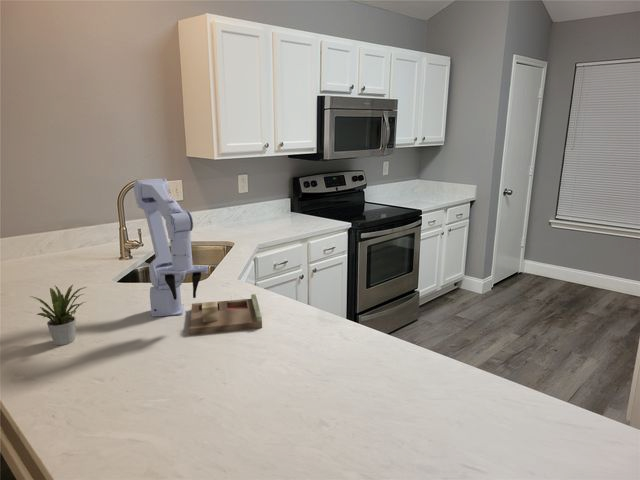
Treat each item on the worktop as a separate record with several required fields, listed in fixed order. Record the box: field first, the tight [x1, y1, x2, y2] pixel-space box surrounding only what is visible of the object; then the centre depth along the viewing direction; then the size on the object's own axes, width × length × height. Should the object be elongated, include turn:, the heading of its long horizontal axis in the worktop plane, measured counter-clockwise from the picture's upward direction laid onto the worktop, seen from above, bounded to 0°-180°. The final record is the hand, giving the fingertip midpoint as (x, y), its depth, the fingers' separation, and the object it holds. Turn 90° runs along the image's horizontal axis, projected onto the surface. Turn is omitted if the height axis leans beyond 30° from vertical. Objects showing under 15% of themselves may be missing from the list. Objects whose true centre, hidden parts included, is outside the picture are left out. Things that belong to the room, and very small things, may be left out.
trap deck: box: [188, 293, 263, 336], centre depth 143 cm, size 21×20×4 cm
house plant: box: [29, 284, 87, 346], centre depth 127 cm, size 14×14×16 cm
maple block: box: [201, 301, 218, 322], centre depth 138 cm, size 4×4×4 cm
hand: (185, 297), depth 135 cm, fingers open, 5 cm apart
